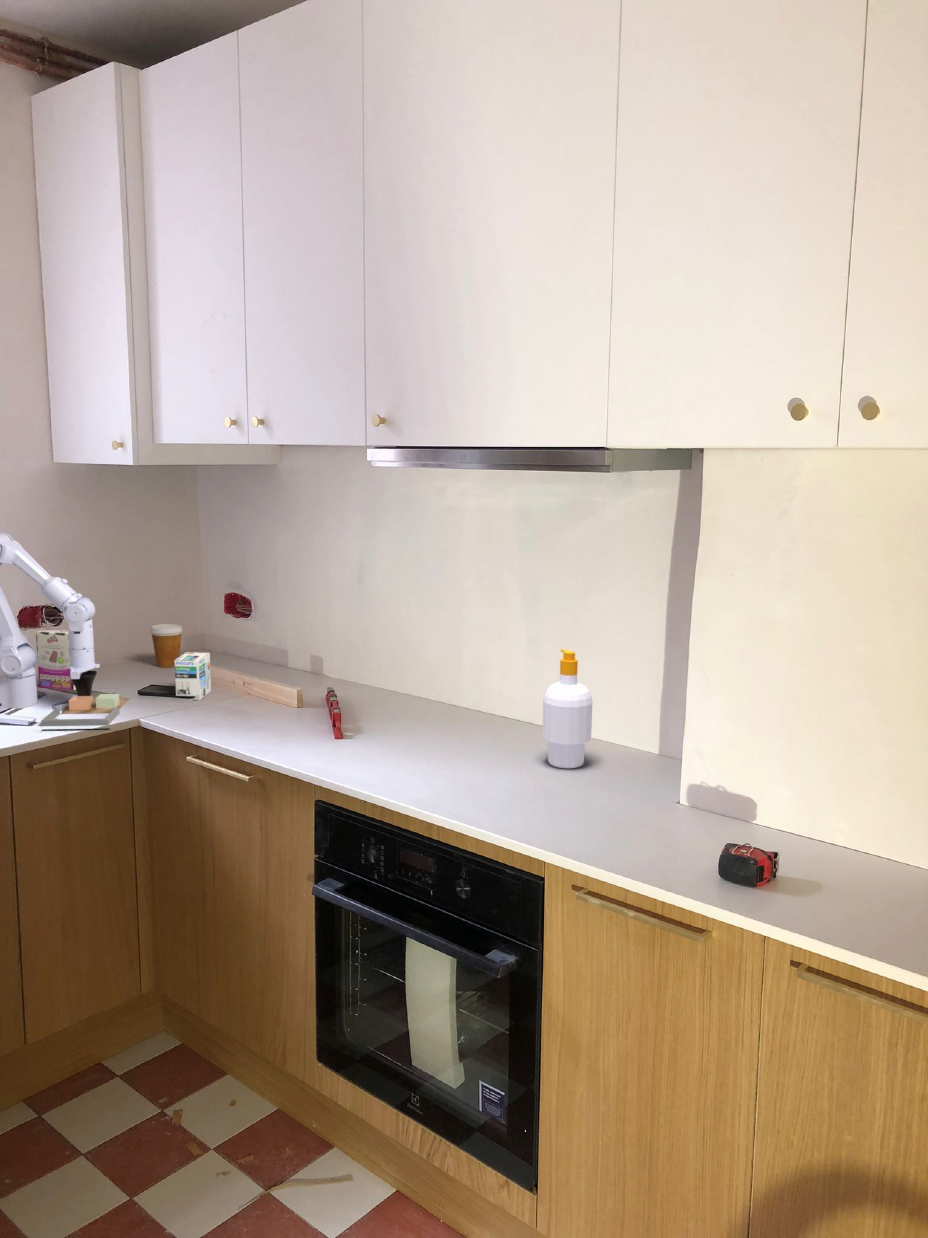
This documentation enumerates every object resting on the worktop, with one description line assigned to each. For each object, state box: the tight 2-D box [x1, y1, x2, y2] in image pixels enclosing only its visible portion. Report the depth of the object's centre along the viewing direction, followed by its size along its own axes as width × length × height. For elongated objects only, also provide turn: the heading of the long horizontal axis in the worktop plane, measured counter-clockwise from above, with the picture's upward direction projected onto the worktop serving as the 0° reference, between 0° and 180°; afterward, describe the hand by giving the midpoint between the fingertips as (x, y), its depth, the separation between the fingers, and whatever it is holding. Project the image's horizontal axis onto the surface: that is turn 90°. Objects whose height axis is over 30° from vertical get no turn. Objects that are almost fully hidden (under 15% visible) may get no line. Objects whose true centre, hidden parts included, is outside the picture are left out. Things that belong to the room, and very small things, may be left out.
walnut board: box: [60, 697, 130, 715], centre depth 245 cm, size 13×14×1 cm
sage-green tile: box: [95, 693, 120, 708], centre depth 245 cm, size 4×4×2 cm
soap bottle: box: [541, 648, 593, 770], centre depth 206 cm, size 10×10×24 cm
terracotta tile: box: [68, 695, 94, 711], centre depth 242 cm, size 4×4×2 cm
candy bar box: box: [35, 628, 76, 691], centre depth 263 cm, size 11×5×16 cm, turn 73°
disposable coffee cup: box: [149, 623, 184, 669], centre depth 295 cm, size 10×10×12 cm
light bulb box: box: [174, 651, 212, 701], centre depth 260 cm, size 11×7×11 cm, turn 179°
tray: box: [40, 708, 120, 732], centre depth 232 cm, size 15×10×2 cm
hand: (84, 700), depth 246 cm, fingers closed
